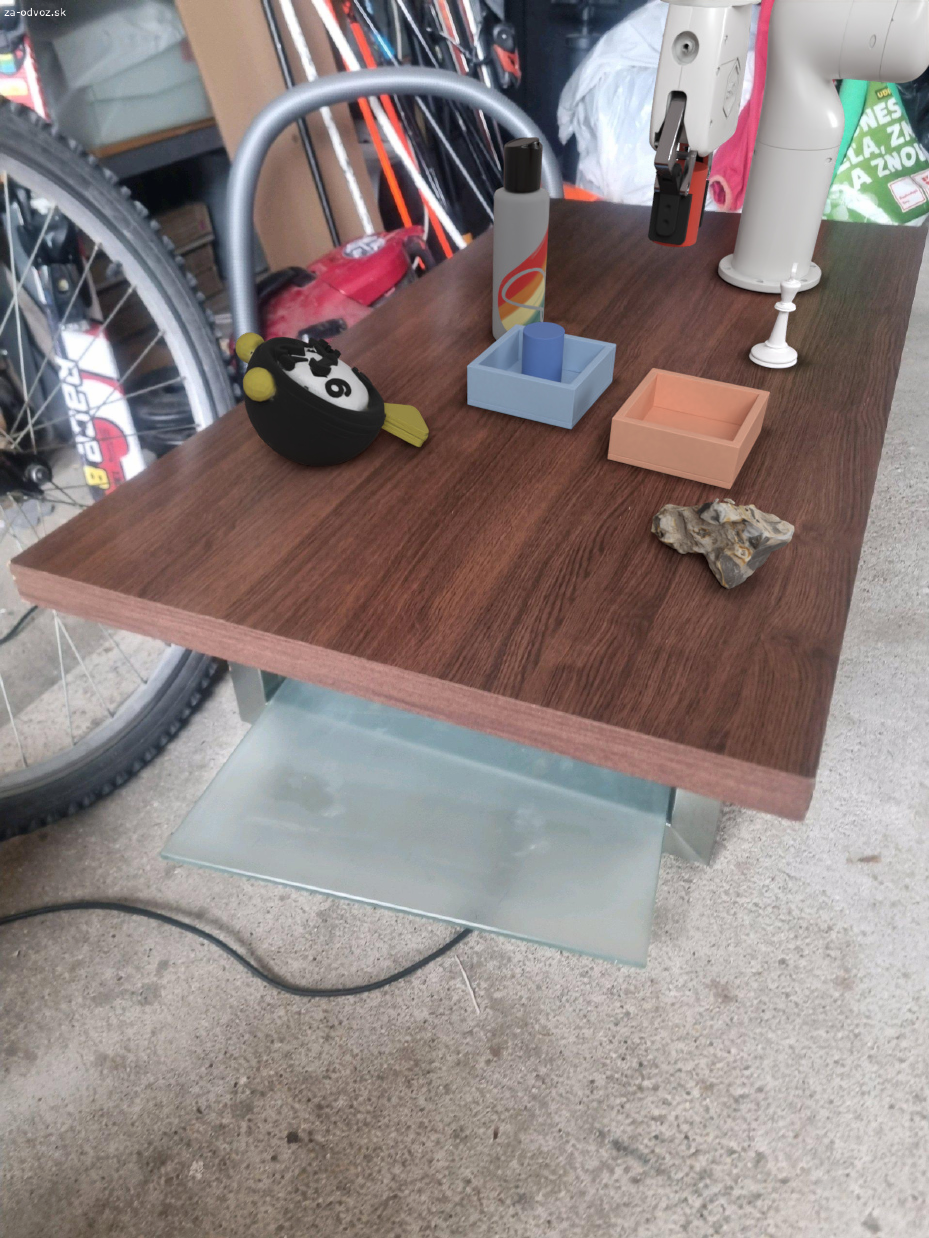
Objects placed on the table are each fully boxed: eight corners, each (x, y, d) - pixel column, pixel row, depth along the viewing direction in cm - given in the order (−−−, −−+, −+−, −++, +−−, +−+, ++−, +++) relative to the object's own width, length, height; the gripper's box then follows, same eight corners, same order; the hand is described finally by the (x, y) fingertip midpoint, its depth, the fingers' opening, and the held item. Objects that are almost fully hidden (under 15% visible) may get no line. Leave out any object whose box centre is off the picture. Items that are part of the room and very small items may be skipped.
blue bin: (514, 361, 93) (515, 323, 90) (612, 382, 89) (616, 343, 86) (467, 404, 85) (466, 365, 83) (571, 429, 82) (574, 389, 79)
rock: (617, 566, 63) (739, 531, 56) (627, 483, 66) (745, 440, 59) (686, 613, 68) (807, 586, 61) (693, 534, 71) (809, 500, 64)
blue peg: (530, 376, 89) (533, 319, 85) (566, 384, 87) (571, 326, 83) (514, 392, 86) (516, 334, 82) (551, 400, 85) (554, 342, 81)
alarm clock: (391, 525, 77) (327, 417, 64) (262, 486, 82) (179, 380, 69) (448, 422, 80) (399, 300, 67) (321, 392, 86) (253, 274, 73)
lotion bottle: (538, 348, 95) (548, 146, 82) (488, 344, 96) (489, 144, 83) (545, 327, 99) (556, 132, 86) (496, 324, 100) (500, 130, 87)
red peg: (659, 230, 79) (669, 157, 75) (701, 237, 77) (714, 163, 73) (644, 243, 76) (653, 168, 72) (688, 250, 75) (700, 174, 71)
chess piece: (797, 352, 94) (822, 257, 87) (795, 371, 90) (820, 274, 84) (751, 346, 95) (771, 252, 88) (747, 364, 92) (768, 269, 85)
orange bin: (647, 406, 85) (652, 367, 82) (760, 432, 81) (770, 391, 78) (607, 459, 78) (611, 418, 75) (729, 490, 74) (739, 447, 71)
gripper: (732, -10, 58) (687, 270, 70) (789, -29, 69) (741, 215, 81) (626, -15, 60) (600, 255, 72) (697, -33, 71) (664, 204, 83)
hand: (675, 232), depth 76 cm, fingers closed on red peg, 4 cm apart
